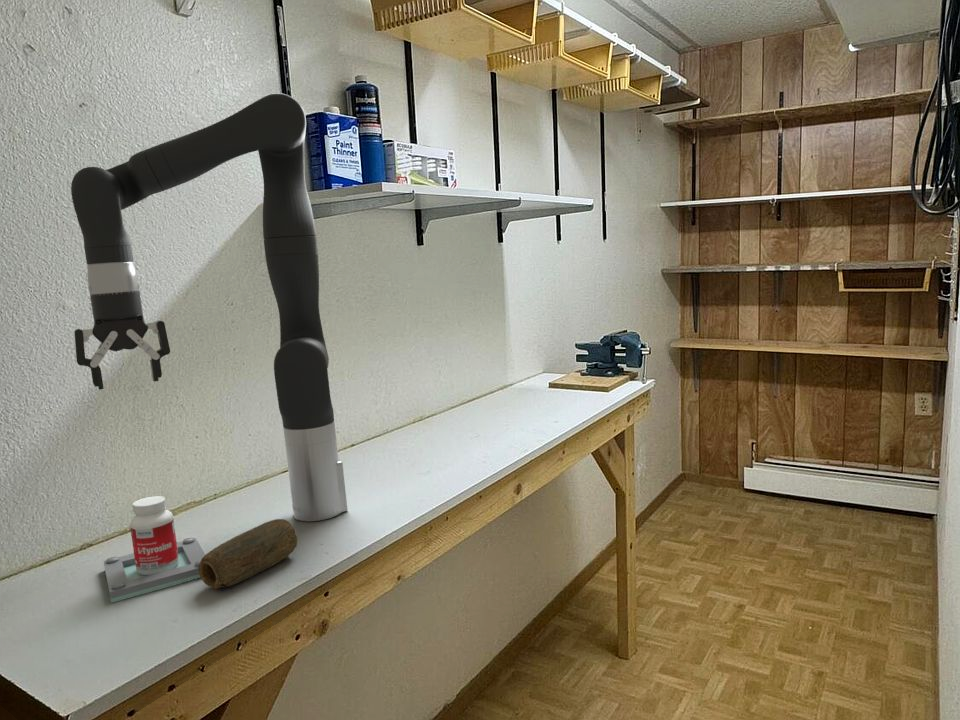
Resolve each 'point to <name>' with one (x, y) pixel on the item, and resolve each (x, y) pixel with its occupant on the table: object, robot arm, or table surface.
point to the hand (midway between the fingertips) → (128, 384)
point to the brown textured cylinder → (248, 554)
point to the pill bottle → (153, 536)
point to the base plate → (131, 583)
